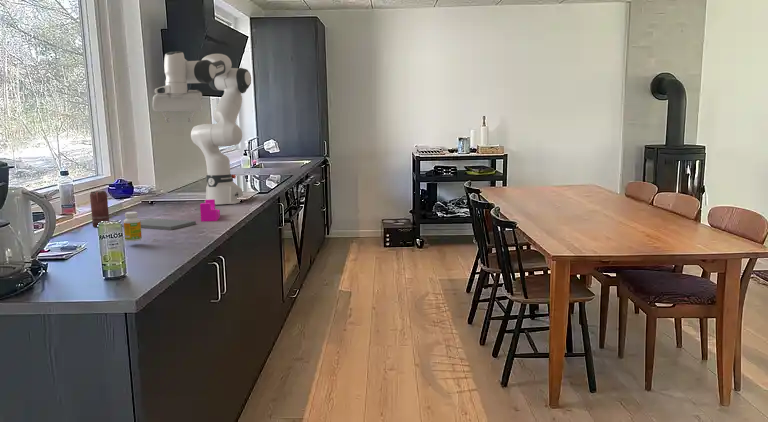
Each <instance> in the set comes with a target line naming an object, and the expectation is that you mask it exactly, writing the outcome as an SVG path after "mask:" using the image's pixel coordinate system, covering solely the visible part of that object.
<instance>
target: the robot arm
mask: <svg viewBox="0 0 768 422" xmlns="http://www.w3.org/2000/svg"><path fill="white" fill-rule="evenodd" d="M163 59H164V60H163V66H164V68H163V70H164V71H163V72H164V75H165V81H164V83H165V85H163V86H159V87H156V88H155V89H154V95H153V97H152V110H153V111H154V112H155V113H158V112H159V113H160V112H161V115H162V116H163V118H164V120H165V121H164V122H165V123H170V118H168V117H167V113H169V112H170V113H171V112H173V113H174V112H175V113H176V112H190V113H189V114H190V117H188V118H187V121H188V123H192V122H193V117H194V115H195V112H202V111H203V102H202V99H203V93H202V91H200V90H199V89H188V84H208V86H209V88H211V89H212V90H214V91H218V92H220V91H223V95H222V96H221V97H220V99H219V101H218V103H217V105H216V106H215V110H214V111H213V119H214V121H215V122H216V123H201V124H198V125H194V126H193V127H192V129H191V131H190V139H191V141H192V143H193V145H195V146H196V147H198V148H199V149H200V150H201V152H202V154H203V156H204V159H205V164H206V175H205V176H206V177H205V179H206V183H207V184H206V187H205V200H211V199H215V205H231V204H233V205H235V204H239V203H241V202H240V201H241V200H237V198H239V197H241V196H243V197H244V195H243V189H242V188H241V186H239V185H238V184H237V183H235V181H234V179H236V178H237V175H236V174H231V163H230V159H229V156H227V155H226V154H224V153H223V152H222V151H221V150H220V147H233V146H236V145H239V144H240V143H241V142H242V139H243V131H242V129H241V127H240V126H239V125H237V124H236V123H237V122H236V121H237V118H238V117H239V116H238V115H239V113H240V110H241V107H242V103H243V96H242V94H245V93H246V92H247V90H248V89H249V87H250V86H251V84H252V75H251V72H250V71H249V70H248V69H247V68H243V67H239V68H237V67H232V66H233V65H232V64H233V63H232V60H231V58H230V57H229V56H228V55H226V54H223V53H211V54H208V55H204V57H203V58H202V59H201V60H187V59H186V58H185V54H184V52H183V51H169V52H166V53H165V54H164V58H163Z"/></svg>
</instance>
